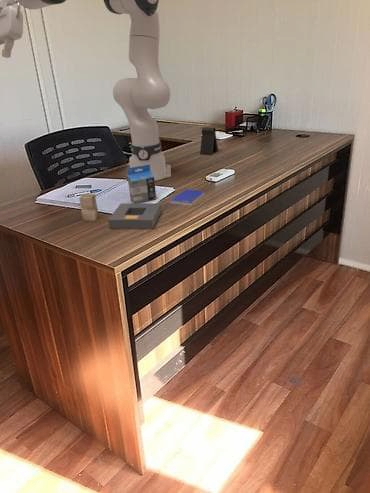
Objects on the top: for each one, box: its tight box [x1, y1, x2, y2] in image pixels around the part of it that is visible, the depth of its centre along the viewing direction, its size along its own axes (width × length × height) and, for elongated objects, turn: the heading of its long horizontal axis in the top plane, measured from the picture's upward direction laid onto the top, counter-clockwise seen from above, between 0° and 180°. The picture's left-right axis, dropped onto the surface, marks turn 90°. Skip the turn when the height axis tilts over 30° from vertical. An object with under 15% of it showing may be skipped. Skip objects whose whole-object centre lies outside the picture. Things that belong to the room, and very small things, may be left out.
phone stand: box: [199, 126, 219, 156], centre depth 208 cm, size 9×6×12 cm, turn 154°
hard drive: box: [169, 189, 206, 206], centre depth 156 cm, size 2×8×12 cm
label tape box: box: [126, 164, 157, 203], centre depth 154 cm, size 9×4×12 cm, turn 114°
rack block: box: [107, 202, 162, 230], centre depth 140 cm, size 14×14×3 cm
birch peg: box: [78, 193, 99, 222], centre depth 142 cm, size 4×4×8 cm
